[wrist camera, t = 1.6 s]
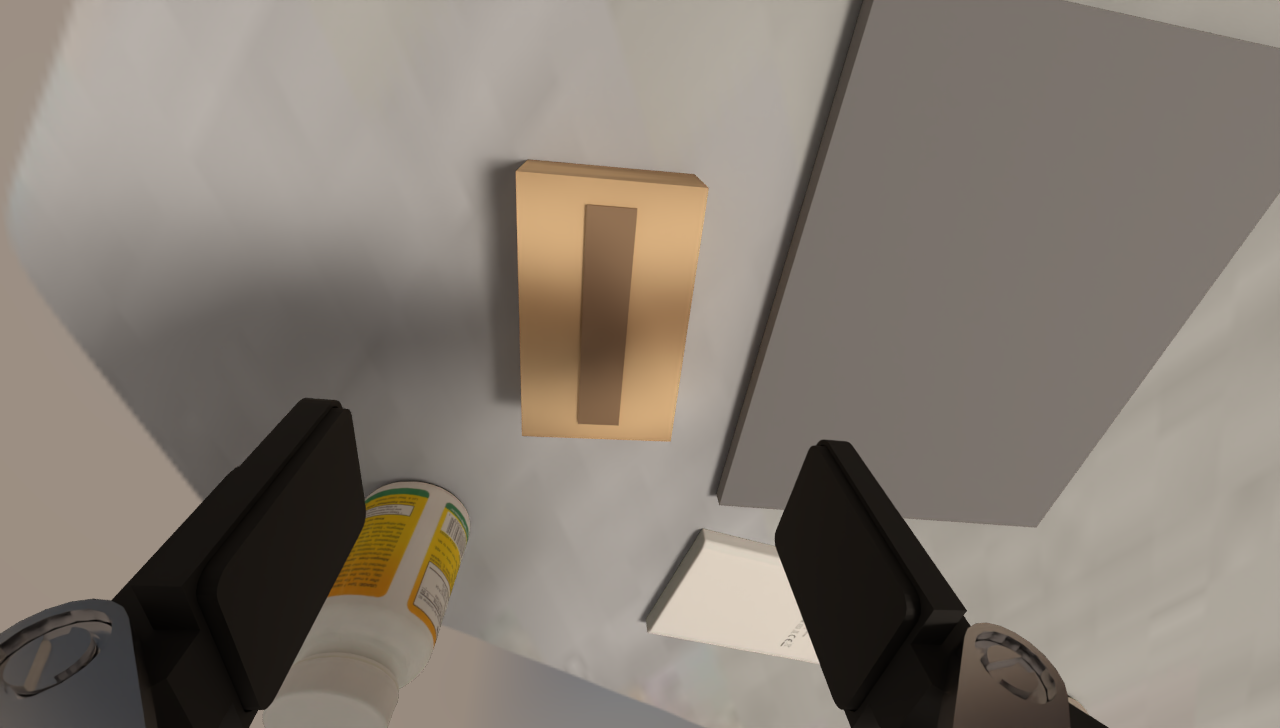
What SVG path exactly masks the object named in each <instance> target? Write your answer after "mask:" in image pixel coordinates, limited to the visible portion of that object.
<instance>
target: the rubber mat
mask: <svg viewBox="0 0 1280 728" xmlns="http://www.w3.org/2000/svg"><path fill="white" fill-rule="evenodd" d="M1279 193H1280V48H1276V47H1271V46H1267V45H1262V44H1258V43H1253V42H1249V41H1244V40H1240V39H1235V38H1231V37H1226V36H1222V35H1217V34H1213V33H1208V32H1204V31H1199V30H1195V29H1190V28H1186V27H1181V26H1177V25H1172V24H1168V23H1163V22H1159V21H1154V20H1150V19H1145V18H1141V17H1136V16H1132V15H1127V14H1123V13H1118V12H1113V11H1109V10H1104V9H1100V8H1095V7H1091V6H1086V5H1082V4H1077V3H1073V2H1068V1H1064V0H863V3H862V6H861V9H860V13H859V16H858V20H857V23H856V26H855V30H854V33H853V36H852V40H851V43H850V46H849V50H848V53H847V57H846V60H845V63H844V67H843V70H842V73H841V77H840V80H839V83H838V87H837V90H836V94H835V97H834V100H833V104H832V107H831V110H830V114H829V117H828V120H827V124H826V127H825V130H824V134H823V137H822V141H821V144H820V147H819V151H818V154H817V157H816V161H815V164H814V167H813V171H812V174H811V178H810V181H809V184H808V188H807V191H806V194H805V198H804V201H803V204H802V208H801V211H800V214H799V218H798V221H797V225H796V228H795V231H794V235H793V238H792V241H791V245H790V248H789V251H788V255H787V258H786V262H785V265H784V268H783V272H782V275H781V278H780V282H779V285H778V288H777V292H776V295H775V299H774V302H773V305H772V309H771V312H770V315H769V319H768V322H767V325H766V329H765V332H764V335H763V339H762V342H761V346H760V349H759V352H758V356H757V359H756V362H755V366H754V369H753V372H752V376H751V379H750V383H749V386H748V389H747V393H746V396H745V399H744V403H743V406H742V409H741V413H740V416H739V420H738V423H737V426H736V430H735V433H734V436H733V440H732V443H731V446H730V450H729V453H728V456H727V460H726V463H725V467H724V470H723V473H722V477H721V480H720V483H719V487H718V490H717V493H716V494H717V498H718V502H719V505H724V506H738V507H753V508H767V509H781V510H785V507H786V505H787V502H788V500H789V497H790V495H791V492H792V490H793V487H794V485H795V482H796V480H797V477H798V475H799V472H800V470H801V467H802V465H803V462H804V460H805V457H806V455H807V453H808V450H809V448H810V447H811V446H814V445H817V443H818V442H819V441H820V440H823V439H825V440H837V441H847V442H850V443H851V444H852V446H853V447H854V448H855V450H856V451H857V453H858V454H859V456H860V457H861V458H862V460H863V461H864V463H865V464H866V466H867V467H868V469H869V470H870V471H871V473H872V474H873V476H874V477H875V479H876V480H877V482H878V483H879V484H880V486H881V487H882V489H883V490H884V492H885V493H886V495H887V496H888V497H889V499H890V500H891V502H892V503H893V505H894V506H895V508H896V509H897V510H898V512H899V513H900V515H901V516H902V518H909V519H923V520H937V521H951V522H965V523H979V524H994V525H1008V526H1022V527H1037V526H1038V524H1039V523H1040V522H1041V520H1042V519H1043V518H1044V516H1045V515H1046V513H1047V512H1048V511H1049V509H1050V508H1051V507H1052V505H1053V504H1054V502H1055V501H1056V500H1057V498H1058V497H1059V496H1060V494H1061V493H1062V491H1063V490H1064V489H1065V487H1066V486H1067V485H1068V483H1069V482H1070V480H1071V479H1072V478H1073V476H1074V475H1075V473H1076V472H1077V471H1078V469H1079V468H1080V467H1081V465H1082V464H1083V462H1084V461H1085V460H1086V458H1087V457H1088V456H1089V454H1090V453H1091V451H1092V450H1093V449H1094V447H1095V446H1096V445H1097V443H1098V442H1099V440H1100V439H1101V438H1102V436H1103V435H1104V434H1105V432H1106V431H1107V429H1108V428H1109V427H1110V425H1111V424H1112V423H1113V421H1114V420H1115V418H1116V417H1117V416H1118V414H1119V413H1120V412H1121V410H1122V409H1123V407H1124V406H1125V405H1126V403H1127V402H1128V401H1129V399H1130V398H1131V396H1132V395H1133V394H1134V392H1135V391H1136V390H1137V388H1138V387H1139V385H1140V384H1141V383H1142V381H1143V380H1144V379H1145V377H1146V376H1147V374H1148V373H1149V372H1150V370H1151V369H1152V368H1153V366H1154V365H1155V363H1156V362H1157V361H1158V359H1159V358H1160V357H1161V355H1162V354H1163V352H1164V351H1165V350H1166V348H1167V347H1168V346H1169V344H1170V343H1171V341H1172V340H1173V339H1174V337H1175V336H1176V335H1177V333H1178V332H1179V330H1180V329H1181V328H1182V326H1183V325H1184V324H1185V322H1186V321H1187V319H1188V318H1189V317H1190V315H1191V314H1192V313H1193V311H1194V310H1195V308H1196V307H1197V306H1198V304H1199V303H1200V302H1201V300H1202V299H1203V297H1204V296H1205V295H1206V293H1207V292H1208V291H1209V289H1210V288H1211V286H1212V285H1213V284H1214V282H1215V281H1216V280H1217V278H1218V277H1219V275H1220V274H1221V273H1222V271H1223V270H1224V269H1225V267H1226V266H1227V264H1228V263H1229V262H1230V260H1231V259H1232V257H1233V256H1234V255H1235V253H1236V252H1237V251H1238V249H1239V248H1240V246H1241V245H1242V244H1243V242H1244V241H1245V240H1246V238H1247V237H1248V235H1249V234H1250V233H1251V231H1252V230H1253V229H1254V227H1255V226H1256V224H1257V223H1258V222H1259V220H1260V219H1261V218H1262V216H1263V215H1264V213H1265V212H1266V211H1267V209H1268V208H1269V207H1270V205H1271V204H1272V202H1273V201H1274V200H1275V198H1276V197H1277V196H1278V194H1279Z"/></svg>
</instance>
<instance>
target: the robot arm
mask: <svg viewBox="0 0 1280 728" xmlns="http://www.w3.org/2000/svg"><path fill="white" fill-rule="evenodd" d="M365 519H366V506H365V499H364V493H363V486H362V480H361V473H360V467H359V460H358V453H357V447H356V440H355V434H354V427H353V421H352V415H351V412H350V410H349V409H343V408H342V405H341V403H340V402H339V401H337V400H326V399H313V398H304V399H302V400H300V401H299V402H298V403H297V404H296V405H295V406H294V407H293V409H292V410H291V411H290V412H289V413H288V414H287V415H286V416H285V417H284V418H283V419H282V421H281V422H280V423H279V424H278V425H277V426H276V427H275V428H274V429H273V430H272V431H271V433H270V434H269V435H268V436H267V437H266V438H265V439H264V440H263V441H262V442H261V443H260V445H259V446H258V447H257V448H256V449H255V450H254V451H253V452H252V453H251V454H250V456H249V457H248V458H247V459H246V460H245V461H244V462H243V463H242V464H241V465H240V466H239V467H237V468H235V469H234V470H233V471H231V472H230V473H229V474H228V475H227V476H226V477H225V478H224V479H223V480H222V482H221V483H220V484H219V485H218V486H217V487H216V488H215V489H214V490H213V491H212V492H211V493H210V494H209V496H208V497H207V498H206V499H205V500H204V501H203V502H202V503H201V504H200V505H199V506H198V507H197V509H196V510H195V511H194V512H193V513H192V514H191V515H190V516H189V517H188V518H187V519H186V521H185V522H184V523H183V524H182V525H181V526H180V527H179V528H178V529H177V530H176V531H175V532H174V533H173V535H172V536H171V537H170V538H169V539H168V540H167V541H166V542H165V543H164V544H163V545H162V546H161V547H160V549H159V550H158V551H157V552H156V553H155V554H154V555H153V556H152V557H151V558H150V559H149V560H148V562H147V563H146V564H145V565H144V566H143V567H142V568H141V569H140V570H139V571H138V572H137V574H135V576H134V577H133V578H132V579H131V580H130V581H129V582H128V583H127V584H126V585H125V586H124V588H123V589H122V590H121V591H120V592H119V593H118V594H117V595H116V596H115V597H114V598H113V599H112V600H111V601H110V600H101V599H87V600H80V601H72V602H68V603H65V604H62V605H59V606H55V607H52V608H49V609H45V610H44V611H41V612H39V613H37V614H35V615H32V616H30V617H28V618H26V619H24V620H22V621H19V622H18V623H16V624H15V625H13V626H11V627H10V628H8V629H7V630H5V631H4V632H2V633H0V728H249V726H250V724H251V723H252V721H253V719H254V717H255V715H256V713H257V711H258V710H265V709H267V708H268V707H269V706H270V705H271V704H272V702H273V701H274V699H275V697H276V695H277V694H278V692H279V690H280V688H281V686H282V684H283V682H284V680H285V678H286V676H287V674H288V672H289V670H290V668H291V666H292V665H293V663H294V661H295V659H296V657H297V655H298V653H299V651H300V649H301V647H302V645H303V643H304V641H305V639H306V637H307V636H308V634H309V632H310V630H311V628H312V626H313V624H314V622H315V620H316V618H317V616H318V614H319V612H320V610H321V608H322V606H323V605H324V603H325V601H326V599H327V597H328V595H329V593H330V591H331V589H332V587H333V585H334V583H335V581H336V579H337V577H338V576H339V574H340V572H341V570H342V568H343V566H344V564H345V562H346V560H347V558H348V556H349V554H350V552H351V550H352V548H353V547H354V545H355V543H356V541H357V539H358V537H359V535H360V533H361V531H362V529H363V526H364V523H365ZM775 546H776V550H777V552H778V555H779V558H780V560H781V563H782V566H783V568H784V571H785V574H786V576H787V579H788V581H789V584H790V587H791V589H792V592H793V595H794V597H795V600H796V603H797V605H798V608H799V610H800V613H801V616H802V618H803V621H804V624H805V626H806V629H807V632H808V634H809V637H810V639H811V642H812V645H813V647H814V650H815V653H816V655H817V658H818V661H819V663H820V666H821V668H822V671H823V674H824V676H825V679H826V682H827V684H828V687H829V689H830V692H831V695H832V697H833V700H834V702H835V704H836V705H837V706H838V708H840V709H842V710H844V711H845V714H846V716H847V719H848V721H849V724H850V726H851V728H1108V727H1107V726H1105V725H1103V724H1102V723H1100V722H1099V721H1097V720H1096V719H1094V718H1093V717H1091V716H1090V715H1089V714H1088V713H1087V711H1086V710H1085V709H1084V707H1083V706H1082V705H1081V704H1080V703H1079V702H1078V701H1076V700H1074V699H1072V698H1070V697H1068V694H1067V691H1066V687H1065V683H1064V682H1063V680H1062V678H1061V676H1060V675H1059V673H1058V671H1057V670H1056V668H1055V667H1054V666H1053V665H1052V664H1051V662H1050V661H1049V660H1048V659H1047V658H1046V656H1045V655H1044V654H1043V653H1041V652H1040V651H1039V650H1038V649H1037V648H1036V647H1035V646H1034V645H1032V644H1031V643H1030V642H1029V641H1027V640H1026V639H1024V638H1022V637H1021V636H1019V635H1018V634H1016V633H1015V632H1013V631H1010V630H1008V629H1006V628H1004V627H1002V626H999V625H995V624H990V623H976V624H974V625H972V626H970V624H969V623H968V622H967V620H966V619H965V617H964V616H963V615H964V614H965V613H966V611H967V610H966V609H965V607H964V606H963V604H962V603H961V601H960V600H959V599H958V597H957V596H956V594H955V593H954V591H953V590H952V588H951V587H950V586H949V584H948V583H947V581H946V580H945V578H944V577H943V575H942V574H941V573H940V571H939V570H938V568H937V567H936V565H935V564H934V562H933V561H932V560H931V558H930V557H929V555H928V554H927V552H926V551H925V549H924V548H923V547H922V545H921V544H920V542H919V541H918V539H917V538H916V536H915V535H914V534H913V532H912V531H911V529H910V528H909V526H908V525H907V523H906V522H905V521H904V519H903V518H902V516H901V515H900V513H899V512H898V510H897V509H896V508H895V506H894V505H893V503H892V502H891V500H890V499H889V497H888V496H887V495H886V493H885V492H884V490H883V489H882V487H881V486H880V484H879V483H878V482H877V480H876V479H875V477H874V476H873V474H872V473H871V471H870V470H869V469H868V467H867V466H866V464H865V463H864V461H863V460H862V458H861V457H860V456H859V454H858V453H857V451H856V450H855V448H854V447H853V446H852V444H851V443H850V442H847V441H837V440H825V439H823V440H820V441H819V442H818V443H817V445H814V446H811V447H810V448H809V450H808V453H807V455H806V457H805V460H804V462H803V465H802V467H801V470H800V472H799V475H798V477H797V480H796V482H795V485H794V487H793V490H792V492H791V495H790V497H789V500H788V502H787V505H786V507H785V510H784V512H783V515H782V517H781V520H780V522H779V525H778V527H777V530H776V533H775Z"/></svg>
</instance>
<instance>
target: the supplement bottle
mask: <svg viewBox="0 0 1280 728" xmlns="http://www.w3.org/2000/svg"><path fill="white" fill-rule="evenodd" d="M365 506H366V519H365V523H364V526H363V529H362V531H361V533H360V535H359V537H358V539H357V541H356V543H355V545H354V547H353V548H352V550H351V552H350V554H349V556H348V558H347V560H346V562H345V564H344V566H343V568H342V570H341V572H340V574H339V576H338V577H337V579H336V581H335V583H334V585H333V587H332V589H331V591H330V593H329V595H328V597H327V599H326V601H325V603H324V605H323V606H322V608H321V610H320V612H319V614H318V616H317V618H316V620H315V622H314V624H313V626H312V628H311V630H310V632H309V634H308V636H307V637H306V639H305V641H304V643H303V645H302V647H301V649H300V651H299V653H298V655H297V657H296V659H295V661H294V663H293V665H292V666H291V668H290V670H289V672H288V674H287V676H286V678H285V680H284V682H283V684H282V686H281V688H280V690H279V692H278V694H277V695H276V697H275V699H274V701H273V702H272V704H271V705H270V706H269V707H268V708H267V709H265V710H264V712H263V724H264V727H265V728H388V725H389V722H390V719H391V717H392V714H393V711H394V709H395V707H396V705H397V702H398V698H399V694H398V692H399V689H400V688H402V687H404V686H405V685H407V684H409V683H410V682H412V680H414V679H415V678H416V677H417V676H418V675H419V674H420V673H421V672H422V671H423V670H424V668H425V667H426V665H427V663H428V661H429V659H430V657H431V654H432V651H433V648H434V646H435V643H436V640H437V636H438V633H439V630H440V627H441V624H442V620H443V617H444V614H445V611H446V608H447V604H448V601H449V598H450V595H451V592H452V589H453V585H454V582H455V579H456V576H457V573H458V570H459V567H460V564H461V561H462V557H463V554H464V551H465V548H466V544H467V541H468V537H469V533H470V519H469V516H468V513H467V511H466V509H465V507H464V506H463V504H462V503H461V502H460V501H459V500H458V499H457V498H456V497H455V496H454V495H452V494H451V493H450V492H448V491H446V490H444V489H442V488H440V487H438V486H435V485H432V484H428V483H424V482H396V483H391V484H388V485H385V486H382V487H381V488H379V489H377V490H375V491H374V492H373V493H371V494H370V495H369V496H368V497H367V498H366V499H365Z"/></svg>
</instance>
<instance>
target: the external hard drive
mask: <svg viewBox="0 0 1280 728" xmlns="http://www.w3.org/2000/svg"><path fill="white" fill-rule="evenodd" d="M646 624H647V632H648V633H652V634H658V635H664V636H669V637H674V638H680V639H685V640H691V641H696V642H702V643H707V644H713V645H718V646H724V647H730V648H735V649H741V650H746V651H751V652H757V653H762V654H768V655H774V656H779V657H784V658H790V659H796V660H801V661H807V662H811V663H817V664H820V663H819V661H818V658H817V655H816V653H815V650H814V647H813V645H812V642H811V639H810V637H809V634H808V632H807V629H806V626H805V624H804V621H803V618H802V616H801V613H800V610H799V608H798V605H797V603H796V600H795V597H794V595H793V592H792V589H791V587H790V584H789V581H788V579H787V576H786V574H785V571H784V568H783V566H782V563H781V560H780V558H779V555H778V552H777V550H776V546H772V545H768V544H764V543H760V542H756V541H752V540H747V539H743V538H739V537H735V536H731V535H727V534H723V533H719V532H715V531H711V530H707V529H704V528H703V529H702V530H701V532H700V533H699V535H698V536H697V538H696V540H695V541H694V543H693V545H692V546H691V548H690V549H689V551H688V553H687V554H686V556H685V557H684V559H683V561H682V562H681V564H680V565H679V567H678V569H677V570H676V572H675V573H674V575H673V577H672V578H671V580H670V582H669V583H668V585H667V586H666V588H665V590H664V591H663V593H662V594H661V596H660V598H659V599H658V601H657V602H656V604H655V606H654V607H653V609H652V610H651V612H650V613H649V615H648V617H647V618H646Z"/></svg>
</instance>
